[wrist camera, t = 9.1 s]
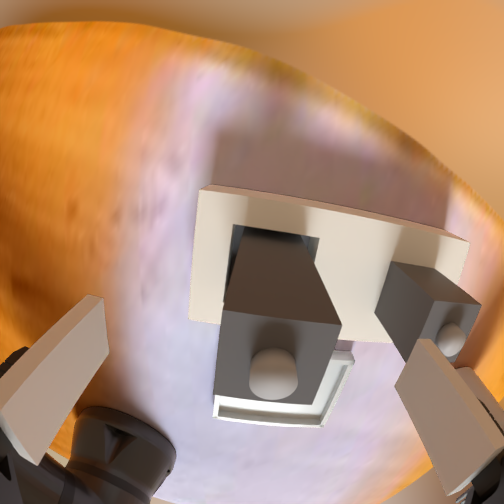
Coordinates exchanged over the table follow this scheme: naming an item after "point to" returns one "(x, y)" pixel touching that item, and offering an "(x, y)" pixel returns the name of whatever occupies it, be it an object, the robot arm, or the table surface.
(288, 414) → the tray
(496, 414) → the beverage can
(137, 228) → the table surface
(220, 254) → the strip
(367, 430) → the table surface
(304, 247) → the plug
